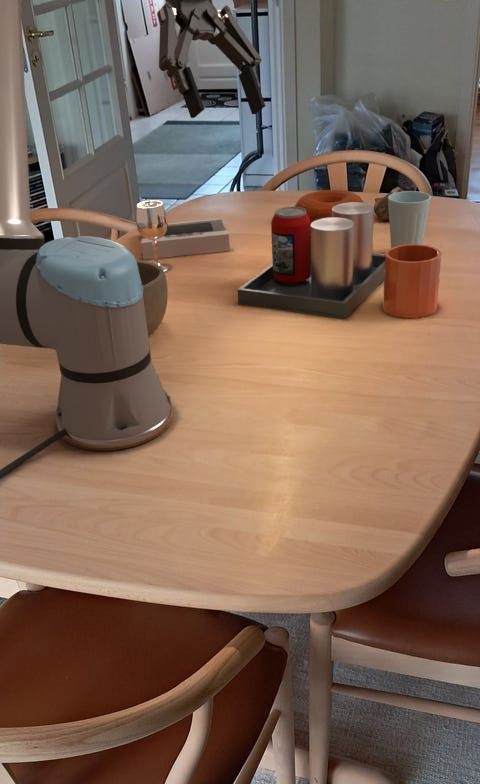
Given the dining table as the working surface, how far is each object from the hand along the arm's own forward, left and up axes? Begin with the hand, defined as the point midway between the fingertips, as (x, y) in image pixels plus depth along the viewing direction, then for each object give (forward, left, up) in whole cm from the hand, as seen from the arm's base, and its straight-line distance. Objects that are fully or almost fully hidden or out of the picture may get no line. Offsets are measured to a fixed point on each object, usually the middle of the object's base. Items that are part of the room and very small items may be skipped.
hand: (229, 112), depth 132 cm
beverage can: (+4, -9, -28) cm, 29 cm away
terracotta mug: (+1, -32, -28) cm, 43 cm away
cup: (+25, -23, -29) cm, 44 cm away
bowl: (-26, +8, -29) cm, 40 cm away
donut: (+40, -1, -29) cm, 49 cm away
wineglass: (+3, +19, -29) cm, 35 cm away
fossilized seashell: (+46, -14, -29) cm, 56 cm away
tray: (+4, -14, -28) cm, 32 cm away
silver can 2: (+8, -18, -28) cm, 34 cm away
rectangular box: (+18, +22, -29) cm, 40 cm away
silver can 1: (-1, -18, -28) cm, 33 cm away
